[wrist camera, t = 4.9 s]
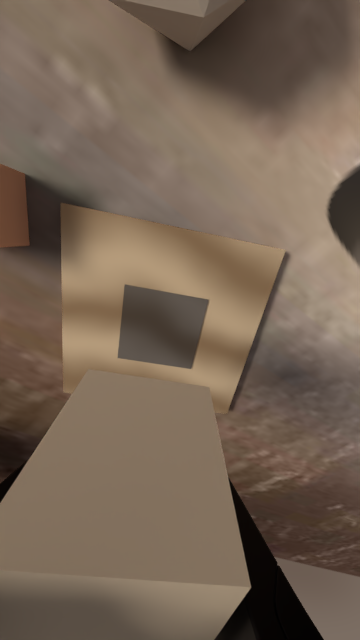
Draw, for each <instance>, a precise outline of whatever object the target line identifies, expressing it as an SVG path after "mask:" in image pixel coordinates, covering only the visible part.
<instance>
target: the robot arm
mask: <svg viewBox="0 0 360 640" xmlns="http://www.w3.org/2000/svg"><path fill="white" fill-rule="evenodd" d="M28 460H29V459H28ZM28 460H27V461H26V462H25V463H24V464H23V465H21V466H20V467H19V468H18V469H17V470H16V471H14V472H13V473H12V474H11V475H10V476H9V477H7V478H6V479H5V480H4V481H3V482H1V483H0V503H1V501H2V500H3V498H4V497H5V495H6V493H7V492H8V490H9V489H10V487H11V486H12V484H13V483H14V481H15V480H16V478H17V477H18V475H19V474H20V472H21V471H22V469H23V468H24V466H25V465H26V463H27V462H28ZM228 479H229V477H228ZM229 484H230V489H231V494H232V498H233V503H234V508H235V513H236V517H237V522H238V527H239V532H240V536H241V541H242V546H243V551H244V555H245V560H246V565H247V570H248V575H249V579H250V584H251V588H250V590H249V591H248V593H247V594H246V595H245V597H244V598H243V600H242V601H241V603H240V604H239V605H238V607H237V608H236V610H235V611H234V612H233V614H232V615H231V617H230V618H229V620H228V621H227V622H226V624H225V625H224V627H223V628H222V629H221V631H220V632H219V634H218V635H217V637H216V638H215V639H214V640H324V639H323V638H322V636H321V635H320V633H319V632H318V630H317V628H316V627H315V625H314V623H313V622H312V620H311V619H310V617H309V616H308V614H307V612H306V611H305V609H304V608H303V606H302V604H301V602H300V601H299V599H298V597H297V596H296V594H295V592H294V591H293V589H292V587H291V586H290V584H289V582H288V580H287V579H286V577H285V575H284V573H283V572H282V570H281V568H280V566H277V561H276V559H275V558H274V556H273V554H272V552H271V551H270V549H269V547H268V545H267V544H266V542H265V540H264V538H263V537H262V535H261V533H260V531H259V530H258V528H257V526H256V524H255V523H254V521H253V519H252V517H251V516H250V514H249V512H248V510H247V509H246V507H245V505H244V503H243V502H242V500H241V498H240V496H239V495H238V493H237V491H236V490H235V488H234V486H233V484H232V483H231V481H230V479H229Z"/></svg>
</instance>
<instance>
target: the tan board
mask: <svg viewBox="0 0 360 640" xmlns="http://www.w3.org/2000/svg"><path fill="white" fill-rule="evenodd" d="M60 204H61V271H62V338H63V392H65V393H73V392H74V390H75V389H76V387H77V386H78V384H79V383H80V381H81V380H82V378H83V377H84V375H85V374H86V372H87V371H88V369H91V370H98V371H104V372H111V373H118V374H125V375H131V376H138V377H145V378H152V379H159V380H165V381H172V382H179V383H186V384H192V385H199V386H206V387H209V389H210V393H211V398H212V403H213V408H214V412H216V413H224V414H227V412H228V410H229V407H230V404H231V401H232V398H233V396H234V393H235V390H236V387H237V384H238V382H239V379H240V376H241V373H242V371H243V368H244V365H245V362H246V359H247V357H248V354H249V351H250V348H251V345H252V343H253V340H254V337H255V334H256V332H257V329H258V326H259V323H260V320H261V318H262V315H263V312H264V309H265V306H266V304H267V301H268V298H269V295H270V293H271V290H272V287H273V284H274V281H275V279H276V276H277V273H278V270H279V268H280V265H281V262H282V259H283V256H284V254H285V251H286V250H283V249H278V248H273V247H269V246H264V245H259V244H254V243H250V242H245V241H240V240H235V239H231V238H226V237H221V236H217V235H212V234H207V233H202V232H198V231H193V230H188V229H183V228H179V227H174V226H169V225H164V224H160V223H155V222H150V221H145V220H141V219H136V218H131V217H127V216H122V215H117V214H112V213H108V212H103V211H98V210H93V209H89V208H84V207H79V206H74V205H70V204H65V203H60Z"/></svg>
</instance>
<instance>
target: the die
mask: <svg viewBox="0 0 360 640" xmlns="http://www.w3.org/2000/svg"><path fill="white" fill-rule="evenodd" d="M109 1H111V2H112V3H114V4H115V5H117V6H119V7H120V8H122V9H123V10H125V11H127V12H128V13H130V14H131V15H133V16H134V17H136V18H138V19H139V20H141V21H142V22H144V23H146V24H147V25H149V26H150V27H152V28H154V29H155V30H157V31H158V32H160V33H162V34H163V35H165V36H166V37H168V38H169V39H171V40H173V41H174V42H176V43H177V44H179V45H181V46H182V47H184V48H185V49H187V50H189V51H191V50H192V49H193V48H195V47H196V46H197V45H198V44H199V43H200V42H201V41H202V40H203V39H204V38H205V37H207V36H208V35H209V34H210V33H211V32H212V31H213V30H214V29H215V28H216V27H217V26H218V25H220V24H221V23H222V22H223V21H224V20H225V19H226V18H227V17H228V16H229V15H230V14H232V13H233V12H234V11H235V10H236V9H237V8H238V7H239V6H240V5H241V4H242V3H244V2H245V1H246V0H109Z"/></svg>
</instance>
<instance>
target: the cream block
mask: <svg viewBox="0 0 360 640" xmlns="http://www.w3.org/2000/svg"><path fill="white" fill-rule="evenodd" d="M250 588H251V584H250V579H249V575H248V570H247V565H246V560H245V555H244V551H243V546H242V541H241V536H240V532H239V527H238V522H237V517H236V513H235V508H234V503H233V498H232V494H231V489H230V484H229V479H228V474H227V470H226V465H225V460H224V455H223V451H222V446H221V441H220V436H219V432H218V427H217V422H216V417H215V413H214V408H213V403H212V398H211V393H210V389H209V387H206V386H199V385H192V384H186V383H179V382H172V381H165V380H159V379H152V378H145V377H138V376H131V375H125V374H118V373H111V372H104V371H98V370H91V369H88V371H87V372H86V374H85V375H84V377H83V378H82V380H81V381H80V383H79V384H78V386H77V387H76V389H75V390H74V392H73V393H72V395H71V396H70V398H69V399H68V401H67V402H66V404H65V405H64V407H63V408H62V410H61V412H60V413H59V415H58V416H57V418H56V419H55V421H54V422H53V424H52V425H51V427H50V428H49V430H48V431H47V433H46V434H45V436H44V437H43V439H42V440H41V442H40V443H39V445H38V446H37V448H36V449H35V451H34V452H33V454H32V456H31V457H30V459H29V460H28V462H27V463H26V465H25V466H24V468H23V469H22V471H21V472H20V474H19V475H18V477H17V478H16V480H15V481H14V483H13V484H12V486H11V487H10V489H9V490H8V492H7V493H6V495H5V497H4V498H3V500H2V501H1V503H0V640H214V639H215V638H216V637H217V635H218V634H219V632H220V631H221V629H222V628H223V627H224V625H225V624H226V622H227V621H228V620H229V618H230V617H231V615H232V614H233V612H234V611H235V610H236V608H237V607H238V605H239V604H240V603H241V601H242V600H243V598H244V597H245V595H246V594H247V593H248V591H249V590H250Z"/></svg>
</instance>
